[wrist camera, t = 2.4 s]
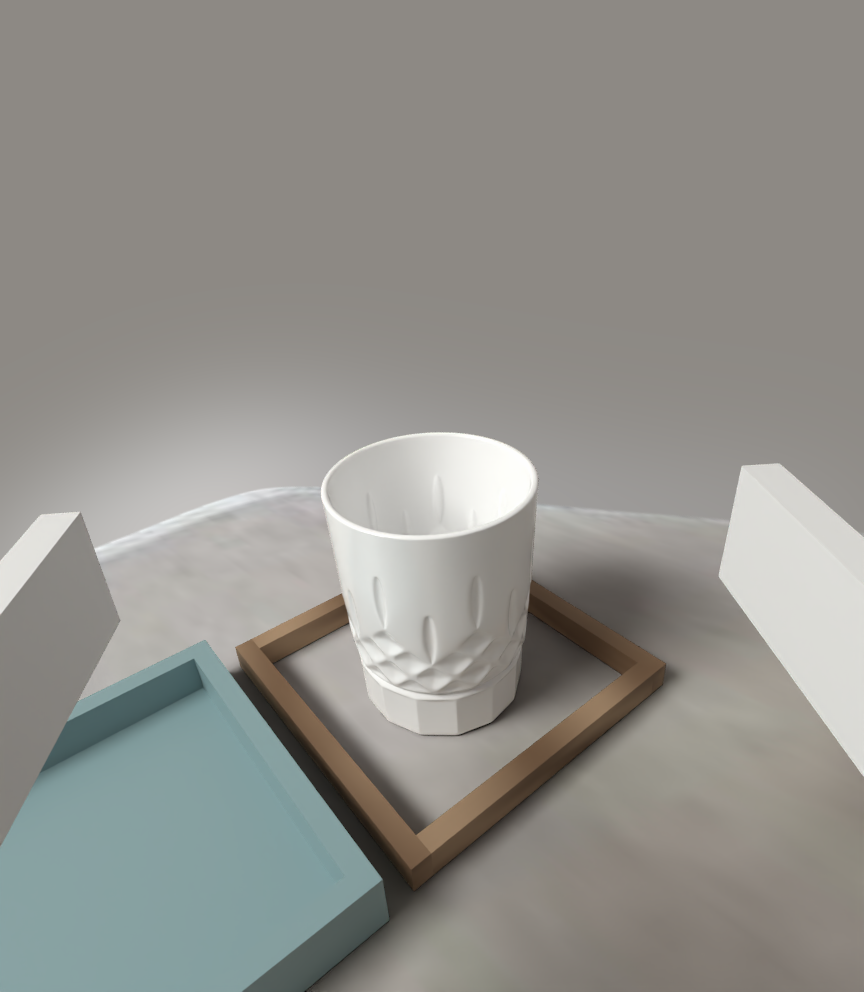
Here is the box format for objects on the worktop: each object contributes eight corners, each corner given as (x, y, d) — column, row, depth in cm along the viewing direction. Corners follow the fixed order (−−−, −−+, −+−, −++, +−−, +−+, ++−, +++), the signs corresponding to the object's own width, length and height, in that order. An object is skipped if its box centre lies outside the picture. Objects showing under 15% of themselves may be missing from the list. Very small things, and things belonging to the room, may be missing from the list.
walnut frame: (459, 552, 37) (458, 534, 36) (662, 684, 28) (666, 663, 27) (240, 666, 30) (235, 647, 30) (413, 891, 21) (411, 869, 20)
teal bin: (216, 676, 30) (205, 639, 29) (389, 920, 20) (382, 879, 19) (-157, 870, 23) (-191, 832, 22) (-156, 1377, 13) (-216, 1354, 12)
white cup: (348, 630, 32) (318, 444, 27) (506, 605, 33) (506, 421, 28) (360, 767, 25) (322, 553, 20) (558, 731, 26) (570, 518, 21)
